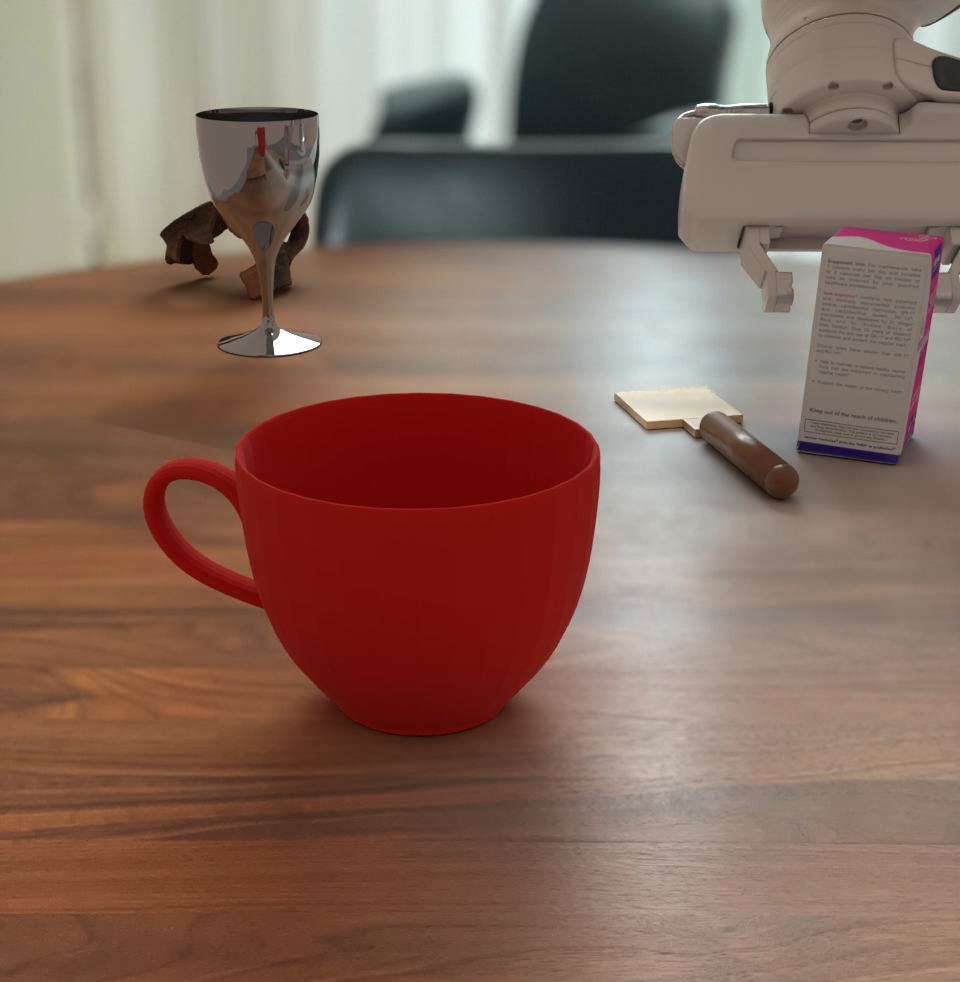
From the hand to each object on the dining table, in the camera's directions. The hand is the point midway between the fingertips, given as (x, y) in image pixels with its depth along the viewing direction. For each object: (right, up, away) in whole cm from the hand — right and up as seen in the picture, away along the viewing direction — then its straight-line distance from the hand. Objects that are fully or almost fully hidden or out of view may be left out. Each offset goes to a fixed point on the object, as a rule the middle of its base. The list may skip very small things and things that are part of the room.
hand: (861, 308), depth 85 cm
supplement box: (0, -8, -1) cm, 8 cm away
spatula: (-8, -8, 0) cm, 11 cm away
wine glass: (-36, +2, +18) cm, 41 cm away
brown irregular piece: (-40, +9, +34) cm, 54 cm away
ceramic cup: (-26, -21, -27) cm, 43 cm away
